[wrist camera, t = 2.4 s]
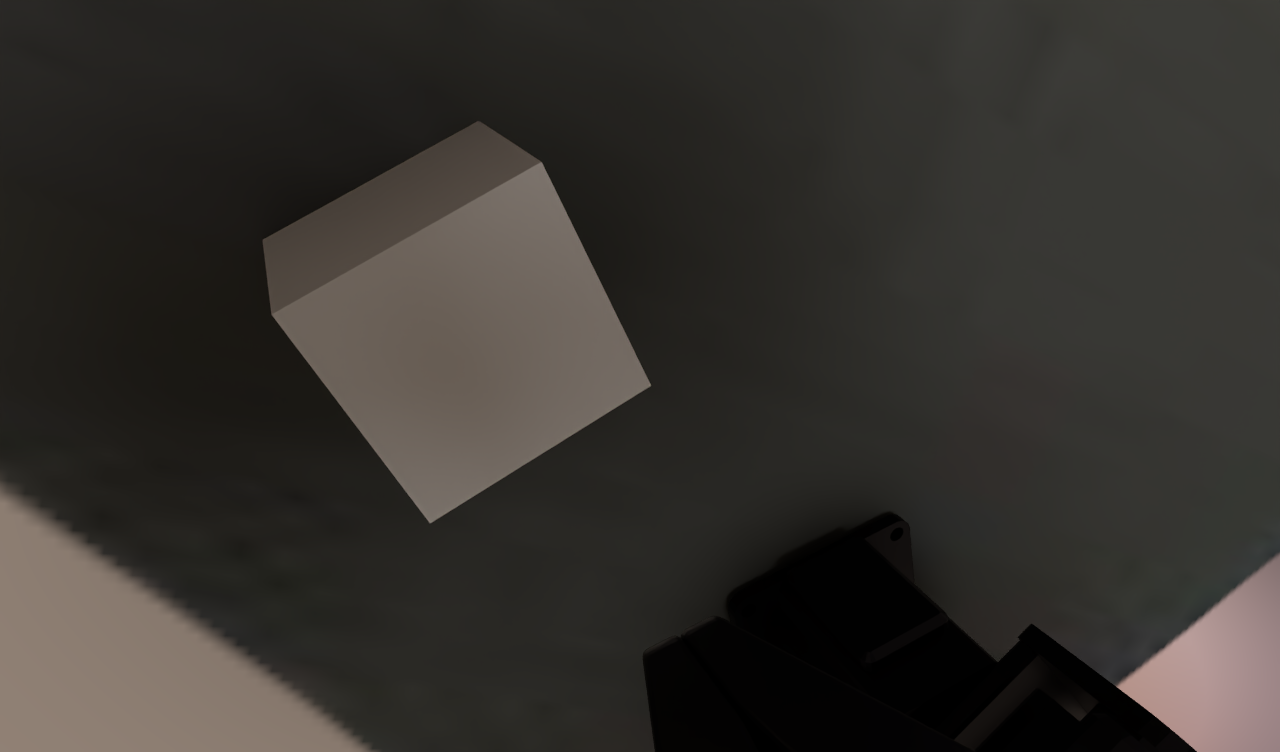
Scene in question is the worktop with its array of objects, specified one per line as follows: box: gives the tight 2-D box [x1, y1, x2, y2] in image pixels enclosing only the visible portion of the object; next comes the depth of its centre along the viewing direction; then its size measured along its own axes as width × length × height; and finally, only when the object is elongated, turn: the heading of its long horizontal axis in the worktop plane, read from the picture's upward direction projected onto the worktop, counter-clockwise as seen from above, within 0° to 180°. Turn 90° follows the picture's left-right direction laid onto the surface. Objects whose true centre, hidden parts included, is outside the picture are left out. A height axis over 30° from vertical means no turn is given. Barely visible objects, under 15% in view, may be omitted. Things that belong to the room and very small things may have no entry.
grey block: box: [262, 121, 651, 523], centre depth 17 cm, size 5×5×4 cm
